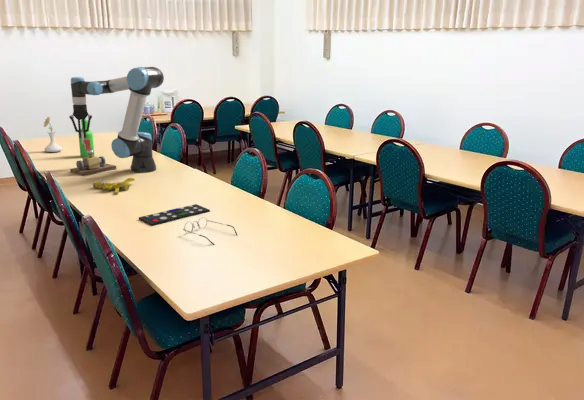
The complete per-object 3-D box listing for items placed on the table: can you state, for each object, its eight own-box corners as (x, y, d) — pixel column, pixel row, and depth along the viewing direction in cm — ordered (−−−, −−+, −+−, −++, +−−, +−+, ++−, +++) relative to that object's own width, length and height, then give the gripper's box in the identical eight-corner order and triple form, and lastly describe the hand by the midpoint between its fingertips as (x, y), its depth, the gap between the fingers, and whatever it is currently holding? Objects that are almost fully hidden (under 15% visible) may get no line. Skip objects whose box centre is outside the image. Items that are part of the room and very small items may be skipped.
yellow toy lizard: (84, 193, 259) (120, 194, 256) (83, 180, 257) (120, 181, 255) (105, 185, 280) (139, 186, 277) (105, 174, 279) (139, 175, 276)
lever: (93, 153, 297) (92, 142, 295) (87, 153, 295) (86, 143, 294) (90, 148, 310) (89, 138, 308) (84, 149, 308) (83, 139, 306)
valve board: (116, 169, 308) (115, 151, 305) (84, 175, 291) (83, 157, 287) (101, 165, 316) (100, 148, 312) (70, 172, 298) (68, 154, 295)
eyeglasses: (208, 225, 218) (207, 214, 217) (239, 235, 207) (239, 224, 206) (179, 235, 206) (179, 224, 204) (212, 246, 195) (211, 234, 194)
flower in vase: (45, 150, 355) (41, 114, 348) (63, 149, 358) (59, 114, 351) (43, 154, 343) (38, 117, 336) (61, 153, 347) (57, 117, 339)
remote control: (138, 220, 222) (138, 216, 221) (196, 207, 243) (195, 203, 242) (151, 227, 214) (151, 222, 214) (209, 212, 235) (209, 208, 235)
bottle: (91, 157, 336) (87, 120, 328) (78, 157, 336) (74, 120, 329) (96, 155, 344) (93, 118, 337) (84, 154, 344) (80, 118, 337)
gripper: (91, 103, 304) (94, 141, 310) (67, 103, 299) (71, 142, 305) (91, 104, 297) (94, 143, 304) (67, 104, 292) (71, 144, 299)
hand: (83, 143), depth 305 cm, fingers closed
